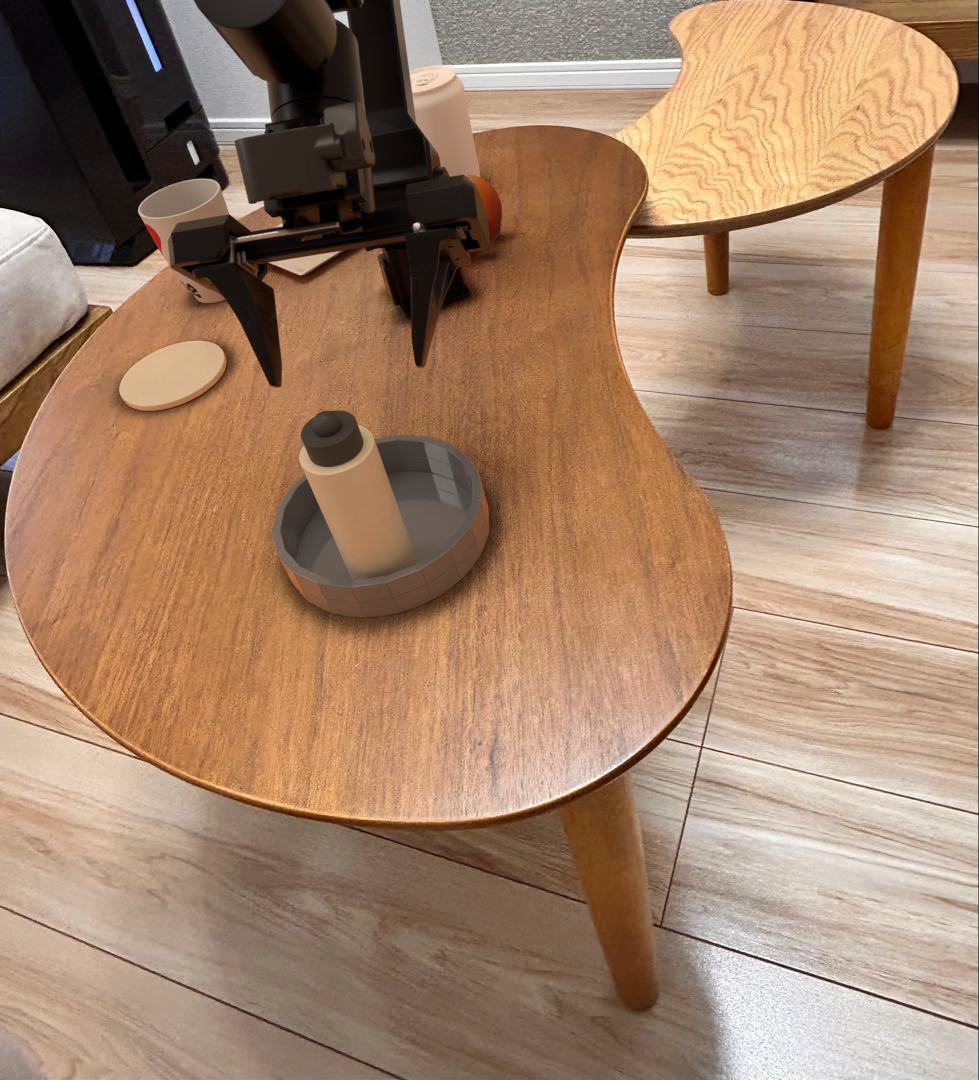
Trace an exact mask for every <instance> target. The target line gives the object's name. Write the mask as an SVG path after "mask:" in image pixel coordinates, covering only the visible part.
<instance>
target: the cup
mask: <svg viewBox="0 0 979 1080" xmlns="http://www.w3.org/2000/svg"><path fill="white" fill-rule="evenodd" d="M137 209H138V210H137V212H138V214H139V216H140V218H141V220H142V222H143V223H144V225H145V227H146V230H147V231H148V232H149V235H150V236H151V238H152V240H153V242H154V244H155V245H156V247H157V249H158V251H159V252H160V254H161V255H162V257H163V258H164V260H165V261H166V262H167V265H168V266H169V267H170V268H171V266H170V257H169V248H168V240H169V237H170V235H171V233H172V231H173V229H174V228H175V226H176V224H177V223H180V222H186V221H192V220H198V219H204V218H209V217H215V216H221V215H227V214H230V212H229V209H228V206H227V202H226V200H225V197H224V194H223V191H222V188H221V185H220V183H219V182H218V181H216V180H214V179H210V178H194V179H193V178H192V179H188V180H182V181H180V182H175V183H172V184H170V185H167V186H165V187H163V188H160V189H158V190H156V191H155V192H153V193H152V194H150V195H148V196H147V197H145V198H144V200H142V202H140V204H139V206H138V208H137ZM171 270H172V271H173V273H174V274H175V276H176V277H177V279H178V280H179V281H180V283H181V284H182V285H183V286H184V287H185V288H186V289H187V291H188V292H190V293H191V295H192V296H193V297H194V298H195V299H196V300H197V301H198V302H200V303H203V304H215V303H219V302H220V303H221V302H222V301H226V299H225V298H224V297H223V296H221V295H219V294H218V293H216V292H214V291H212V290H209V289H207V288H205V287H203V286H202V285H200V284H198V283H196V282H195V281H193V280H191V279H189V278H187V277H186V276H184V275H182V274H180V273H179V272H177V271H175V270H173V269H172V268H171Z"/></svg>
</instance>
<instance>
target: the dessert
mask: <svg viewBox="0 0 979 1080" xmlns="http://www.w3.org/2000/svg"><path fill="white" fill-rule="evenodd" d="M282 226H283V224H282V222H281V223H280V224H278V225H276V226H274V227H273V228H276V227H282ZM346 251H347V250H344V251H338V252H331V253H325V254H319V255H313V256H306V257H300V258H294V259H288V260H281V261H275V262H269V263H268V264H270V265H272V266H276V267H278V268H281V269H283V270H285V271H288V272H290V273H293V274H296V275H298V276H306V275H308V274H310V273H312V272H314V271H315V270H317V269H319V268H320V267H322V266H323V265H325V264H326V263H328V262H329V261H331V260H333V259H334V258H336V257H338V256H339V255H341V254H343V253H344V252H346Z"/></svg>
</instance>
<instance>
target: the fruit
mask: <svg viewBox="0 0 979 1080" xmlns="http://www.w3.org/2000/svg"><path fill="white" fill-rule="evenodd" d="M466 177H468V178H469V179H470V180H471V181H472V182H473V183H474V184H475V185H476V187H477V190H478V192H479V195H480V197H481V199H482V202H483V204H484V207H485V210H486V215H487V220H488V230H489V239H490V247H488V248H486V249H485V250H482V251H476V252H469V254H470V257H471V260H473V259H475V258H478V257H480V256H485V255H491V256H493V247H494V244H495V242H496V239H497V237H500V236H501V237H504V238H505V237H507V235H506V234H504V233H501V229H502V218H503V206H502V201H501V199H500V196H499V194H498V192H497V190H496V188H495V187H494V186H493V185H492V184H491V183H490V182H488V181H487V180H485V179H484V178H483V177H478V176H475V175H466Z"/></svg>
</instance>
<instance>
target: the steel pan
mask: <svg viewBox="0 0 979 1080" xmlns="http://www.w3.org/2000/svg"><path fill="white" fill-rule="evenodd" d="M374 440H375V443H376V446H377V448H378V451H379V454H380V457H381V460H382V463H383V465H384V468H385V471H386V474H387V477H388V479H389V482H390V485H391V488H392V491H393V494H394V496H395V499H396V502H397V505H398V508H399V510H400V513H401V516H402V519H403V522H404V524H405V527H406V530H407V533H408V536H409V539H410V541H411V544H412V547H413V550H414V553H415V555H416V558H417V561H418V564H416V565H413V566H410V567H408V568H405V569H403V570H400V571H397V572H395V573H392V574H390V575H387V576H381V577H374V578H367V579H360V580H352V578H351V576H350V574H349V572H348V569H347V567H346V565H345V563H344V560H343V558H342V556H341V554H340V551H339V549H338V547H337V545H336V542H335V540H334V538H333V536H332V533H331V531H330V529H329V527H328V524H327V522H326V520H325V518H324V515H323V513H322V511H321V509H320V506H319V504H318V502H317V500H316V498H315V495H314V493H313V491H312V489H311V486H310V484H309V482H308V480H307V477H306V475H305V473H304V472H303V474H302V475H301V476H300V477H299V478H298V479H297V480H296V481H294V483H292V485H291V486H290V487H289V488H288V490H287V492H286V493H285V495H284V496H283V497H282V499H281V501H280V503H279V504H278V506H277V508H276V510H275V515H274V519H273V520H274V521H273V525H272V530H271V535H272V538H273V543H274V548H275V552H276V554H277V557H278V558H279V559H278V560H279V561H280V563H281V564H282V566H283V569H284V570H285V572H286V575H287V576H288V578H289V579H290V582H291V584H292V585H293V586H294V587H295V588H296V590H298V592H299V593H300V594H301V595H302V597H303V598H304V599H305V600H306V601H307V602H308V603H310V604H312V605H314V606H316V607H318V608H319V609H321V610H323V611H326V612H329V613H330V614H334V615H338V616H343V617H349V618H350V617H351V618H363V619H364V618H365V619H367V618H376V617H386V616H391V615H395V614H400V613H404V612H406V611H410V610H412V609H415V608H417V607H420V606H422V605H424V604H427V603H429V602H431V601H433V600H434V599H437V598H438V597H440V596H442V595H443V594H444V593H446V592H447V591H449V590H450V589H451V588H452V587H454V586H455V585H457V583H459V582H461V580H462V579H463V578H464V577H465V576H466V575H467V574H468V573H469V572H470V571H471V569H473V567H474V565H475V564H476V563H477V561H478V560H479V559H480V557H481V556H482V552H483V551H484V549H485V546H486V543H487V540H488V537H489V534H490V509H489V505H488V504H489V503H488V499H487V496H486V492H485V489H484V485H483V482H482V477H481V476H480V474H479V472H478V470H477V468H476V466H475V464H474V463H473V461H472V459H471V458H470V457H469V456H467V454H465V453H464V452H462V451H461V450H459V448H457V447H455V446H454V445H453V444H451V443H449V442H445V441H442V440H439V439H436V438H433V437H430V436H424V435H405V434H404V435H403V434H396V435H395V434H394V435H389V436H382V437H376V438H374Z"/></svg>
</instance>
